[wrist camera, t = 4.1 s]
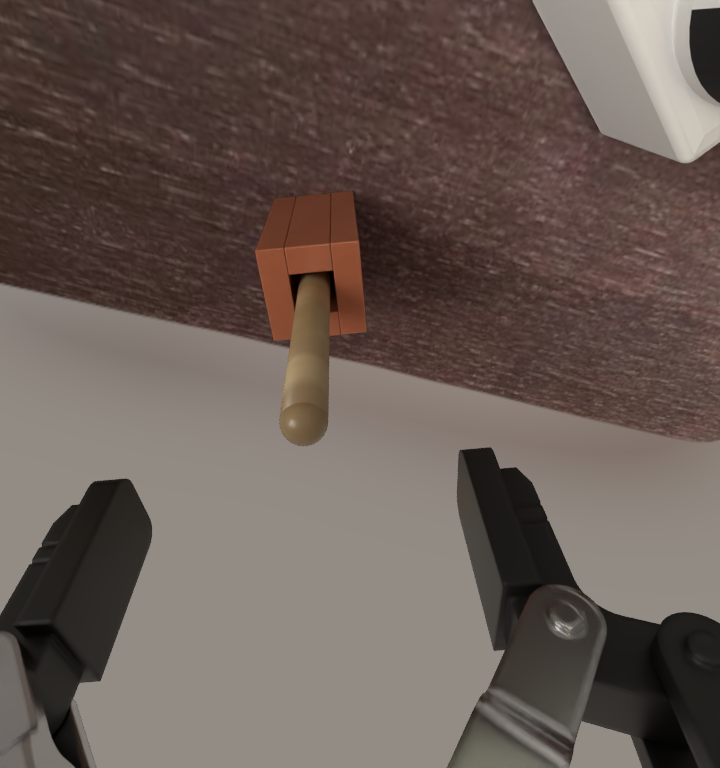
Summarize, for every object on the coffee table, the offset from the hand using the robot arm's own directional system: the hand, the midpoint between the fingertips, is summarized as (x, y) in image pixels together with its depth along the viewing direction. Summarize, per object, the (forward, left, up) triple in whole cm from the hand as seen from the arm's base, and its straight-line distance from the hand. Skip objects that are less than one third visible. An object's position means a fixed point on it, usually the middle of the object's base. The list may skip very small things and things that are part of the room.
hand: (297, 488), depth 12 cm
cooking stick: (0, 0, -19) cm, 19 cm away
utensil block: (0, 0, -19) cm, 19 cm away
